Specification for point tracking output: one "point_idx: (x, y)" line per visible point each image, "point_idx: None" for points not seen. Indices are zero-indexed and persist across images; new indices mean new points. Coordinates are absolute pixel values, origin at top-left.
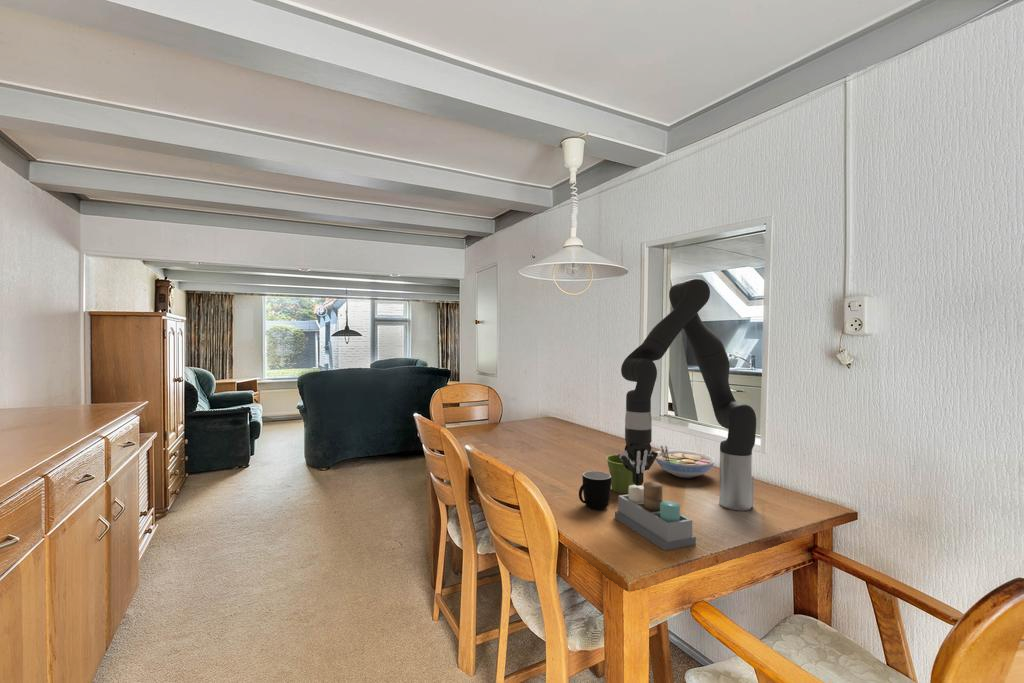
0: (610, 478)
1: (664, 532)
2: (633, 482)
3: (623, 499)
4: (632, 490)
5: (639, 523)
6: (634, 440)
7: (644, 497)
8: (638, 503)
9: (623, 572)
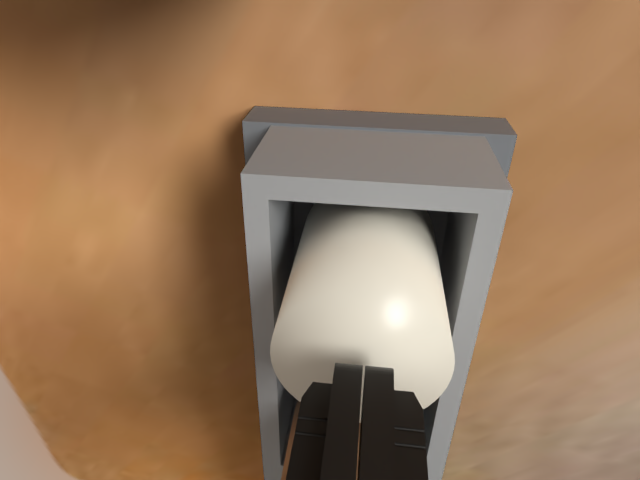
0: None
1: None
2: (310, 393)
3: (248, 243)
4: (278, 366)
5: None
6: None
7: (281, 477)
8: None
9: (63, 464)
